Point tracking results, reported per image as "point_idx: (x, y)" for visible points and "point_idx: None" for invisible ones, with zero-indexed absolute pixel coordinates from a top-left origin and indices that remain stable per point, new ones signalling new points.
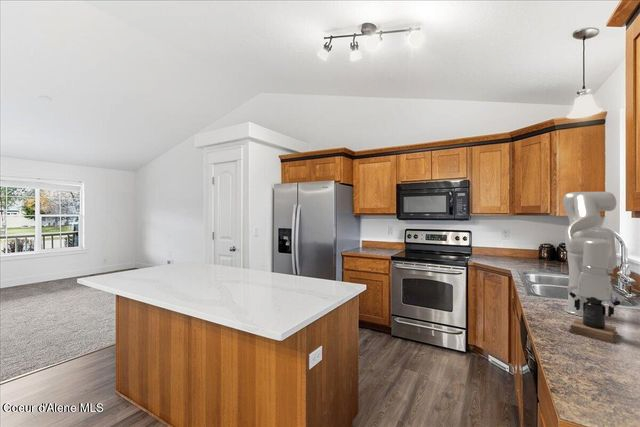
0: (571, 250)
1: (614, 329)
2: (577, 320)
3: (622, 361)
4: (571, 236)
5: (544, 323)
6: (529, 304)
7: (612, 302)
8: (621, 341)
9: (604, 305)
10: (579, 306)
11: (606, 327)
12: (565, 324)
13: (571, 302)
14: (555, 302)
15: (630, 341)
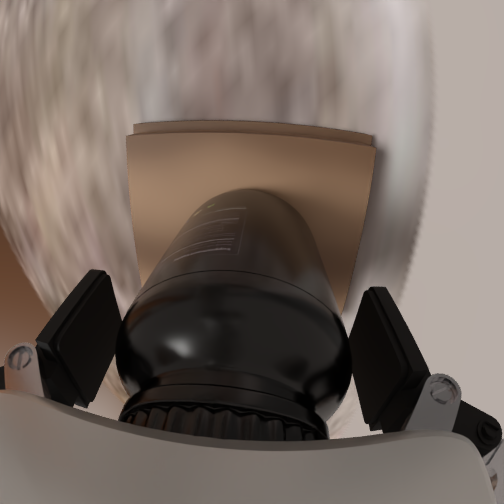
0: None
1: (363, 223)
2: (142, 200)
3: (329, 418)
4: None
5: (54, 256)
6: None
7: (437, 426)
8: (371, 255)
9: (342, 397)
10: (102, 311)
11: (321, 218)
12: (104, 180)
13: None
14: None
15: (408, 220)
